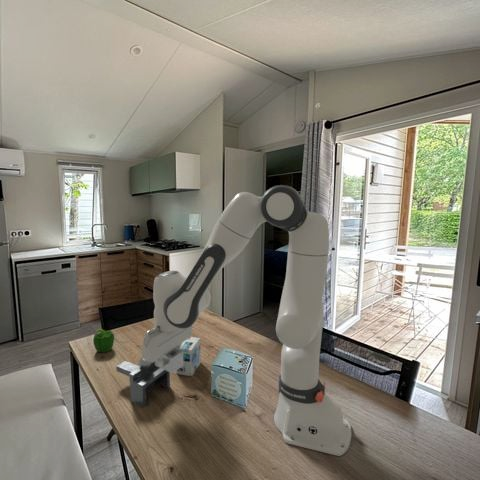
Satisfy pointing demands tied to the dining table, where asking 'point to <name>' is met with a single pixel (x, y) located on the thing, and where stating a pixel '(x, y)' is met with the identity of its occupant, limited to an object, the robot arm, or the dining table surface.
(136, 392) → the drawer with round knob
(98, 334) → the bell pepper
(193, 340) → the light bulb box
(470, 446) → the dining table surface
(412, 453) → the dining table surface
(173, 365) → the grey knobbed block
